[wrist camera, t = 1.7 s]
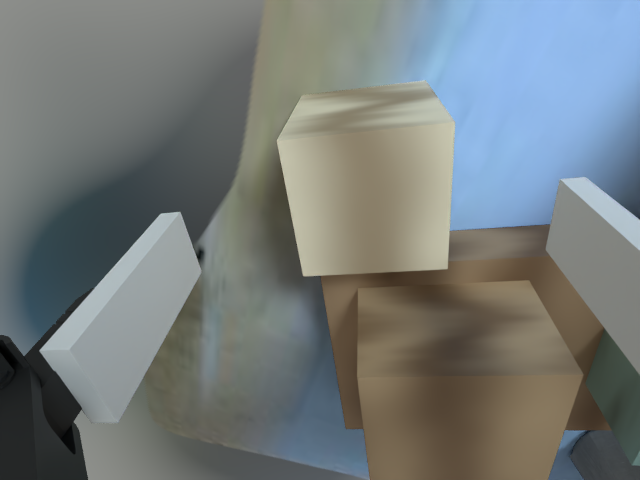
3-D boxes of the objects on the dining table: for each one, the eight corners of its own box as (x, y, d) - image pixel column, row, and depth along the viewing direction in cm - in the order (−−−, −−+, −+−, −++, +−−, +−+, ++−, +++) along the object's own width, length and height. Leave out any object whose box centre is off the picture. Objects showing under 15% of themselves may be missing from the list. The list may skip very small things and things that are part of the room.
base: (733, 212, 21) (947, 340, 13) (646, 392, 29) (748, 536, 21) (323, 239, 24) (306, 354, 16) (347, 394, 32) (342, 520, 24)
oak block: (425, 80, 19) (455, 122, 13) (424, 193, 22) (447, 269, 16) (302, 94, 19) (276, 140, 14) (318, 201, 23) (303, 276, 17)
